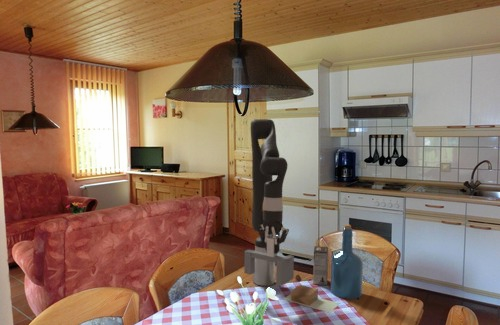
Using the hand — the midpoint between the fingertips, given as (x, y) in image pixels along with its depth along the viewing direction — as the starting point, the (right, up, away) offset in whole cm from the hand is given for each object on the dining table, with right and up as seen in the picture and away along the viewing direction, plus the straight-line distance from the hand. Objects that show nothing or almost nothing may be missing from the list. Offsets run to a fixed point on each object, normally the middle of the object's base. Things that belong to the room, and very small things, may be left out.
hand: (272, 252), depth 140 cm
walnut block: (+13, -20, +5) cm, 25 cm away
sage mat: (+16, -21, +3) cm, 27 cm away
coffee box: (+24, -21, +25) cm, 41 cm away
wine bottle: (+32, -22, +12) cm, 41 cm away
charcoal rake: (-2, -10, +1) cm, 11 cm away
